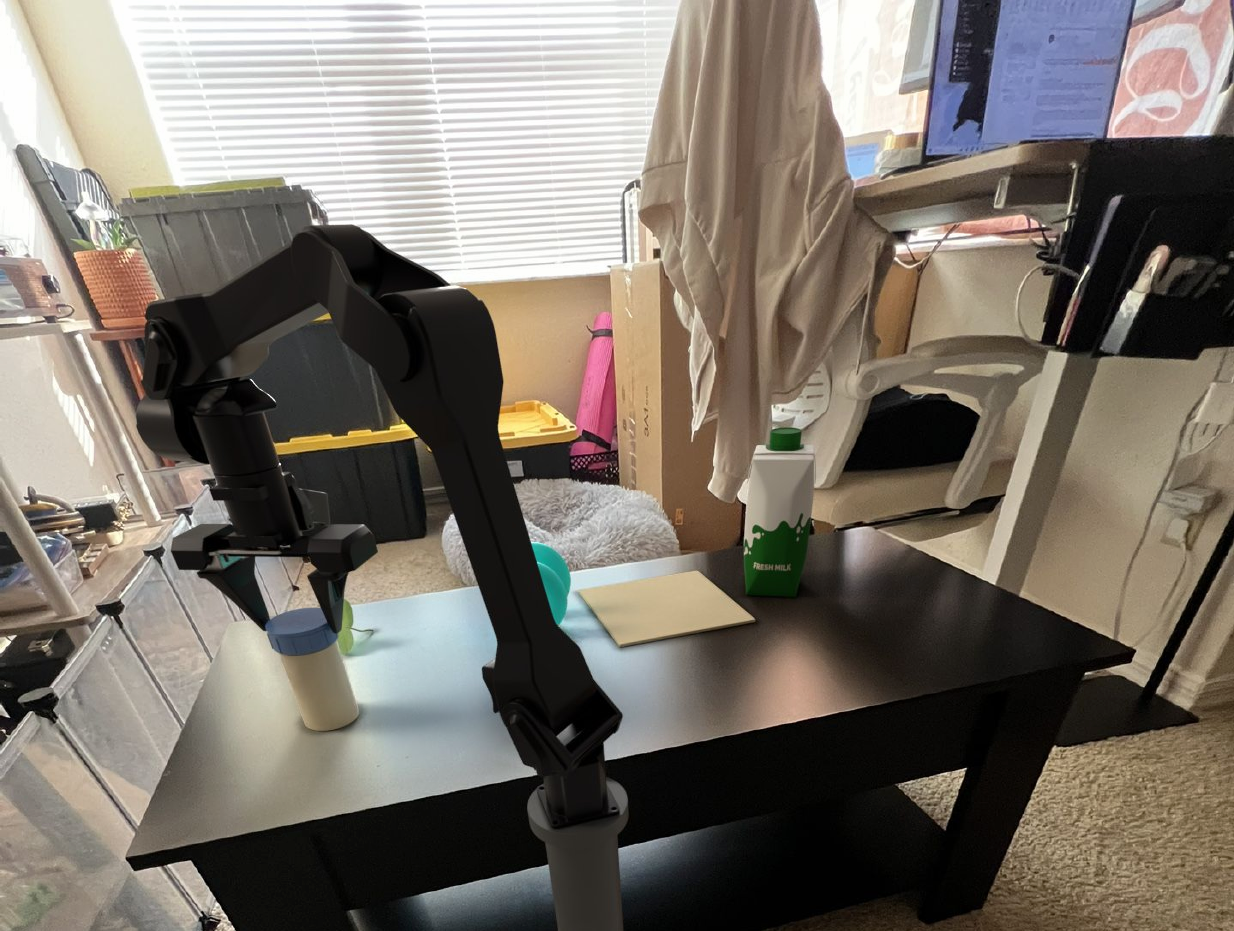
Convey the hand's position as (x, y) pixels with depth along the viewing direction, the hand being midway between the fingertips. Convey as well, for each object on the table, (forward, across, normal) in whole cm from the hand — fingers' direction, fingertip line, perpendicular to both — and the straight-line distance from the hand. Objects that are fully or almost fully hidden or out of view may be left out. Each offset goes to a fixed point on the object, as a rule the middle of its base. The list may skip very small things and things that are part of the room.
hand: (302, 631), depth 75 cm
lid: (-1, 0, 0) cm, 1 cm away
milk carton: (+10, -48, -41) cm, 64 cm away
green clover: (+10, +6, -18) cm, 22 cm away
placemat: (+10, -33, -33) cm, 48 cm away
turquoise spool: (+10, -17, -26) cm, 33 cm away
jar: (+10, 0, 0) cm, 10 cm away
